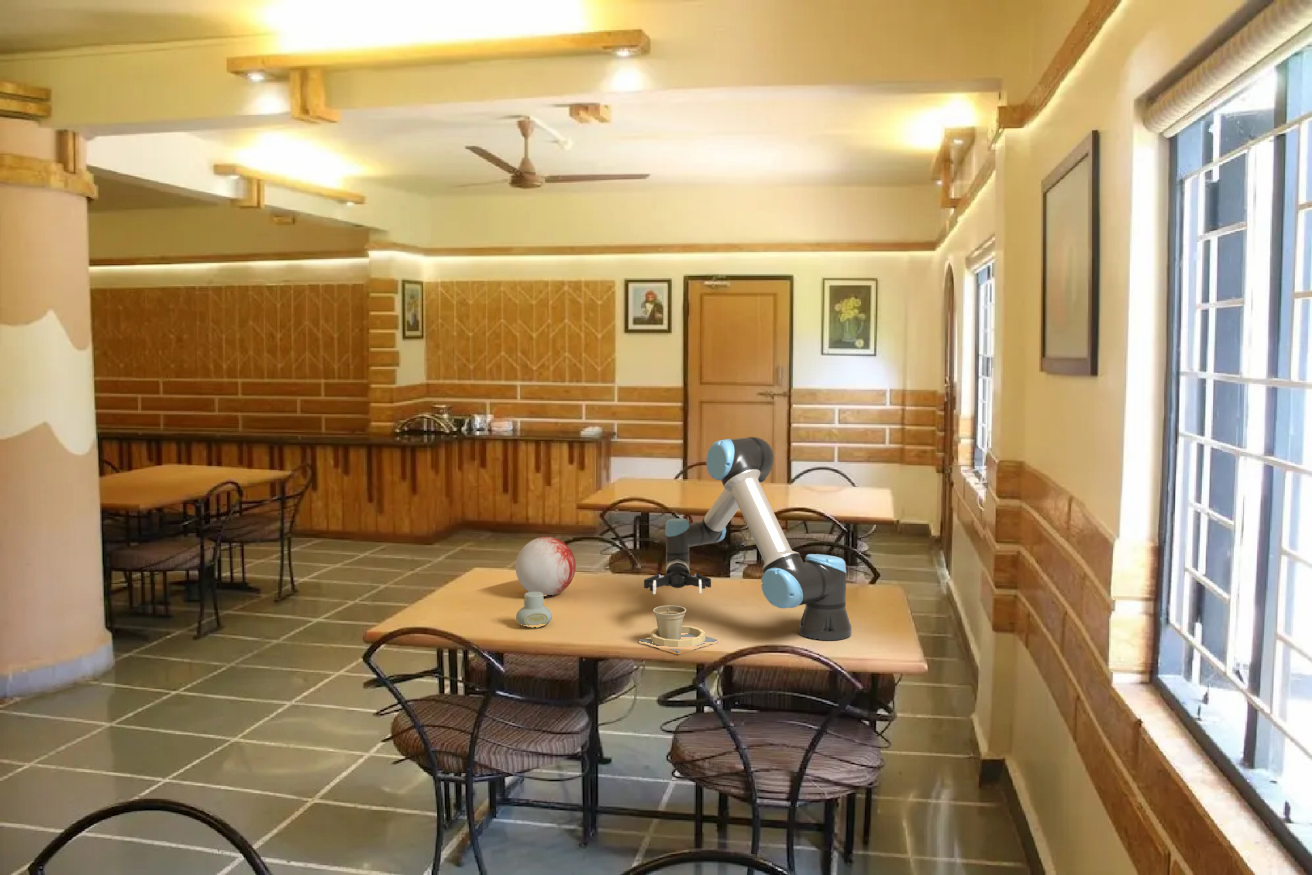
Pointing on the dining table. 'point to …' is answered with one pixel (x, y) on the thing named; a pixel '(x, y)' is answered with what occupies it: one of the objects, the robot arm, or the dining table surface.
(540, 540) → the decorative orb
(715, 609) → the dining table surface
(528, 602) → the air freshener
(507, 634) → the dining table surface
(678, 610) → the flower pot
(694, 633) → the collar plate
